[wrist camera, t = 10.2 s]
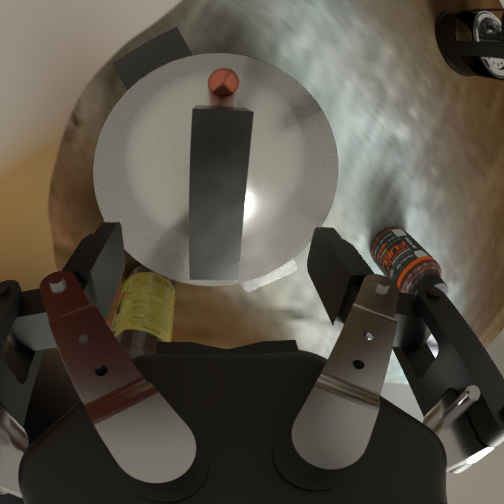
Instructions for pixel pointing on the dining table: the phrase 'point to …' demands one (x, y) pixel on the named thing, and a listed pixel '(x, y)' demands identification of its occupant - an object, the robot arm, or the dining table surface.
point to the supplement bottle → (405, 261)
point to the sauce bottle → (144, 312)
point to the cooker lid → (216, 169)
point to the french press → (473, 42)
